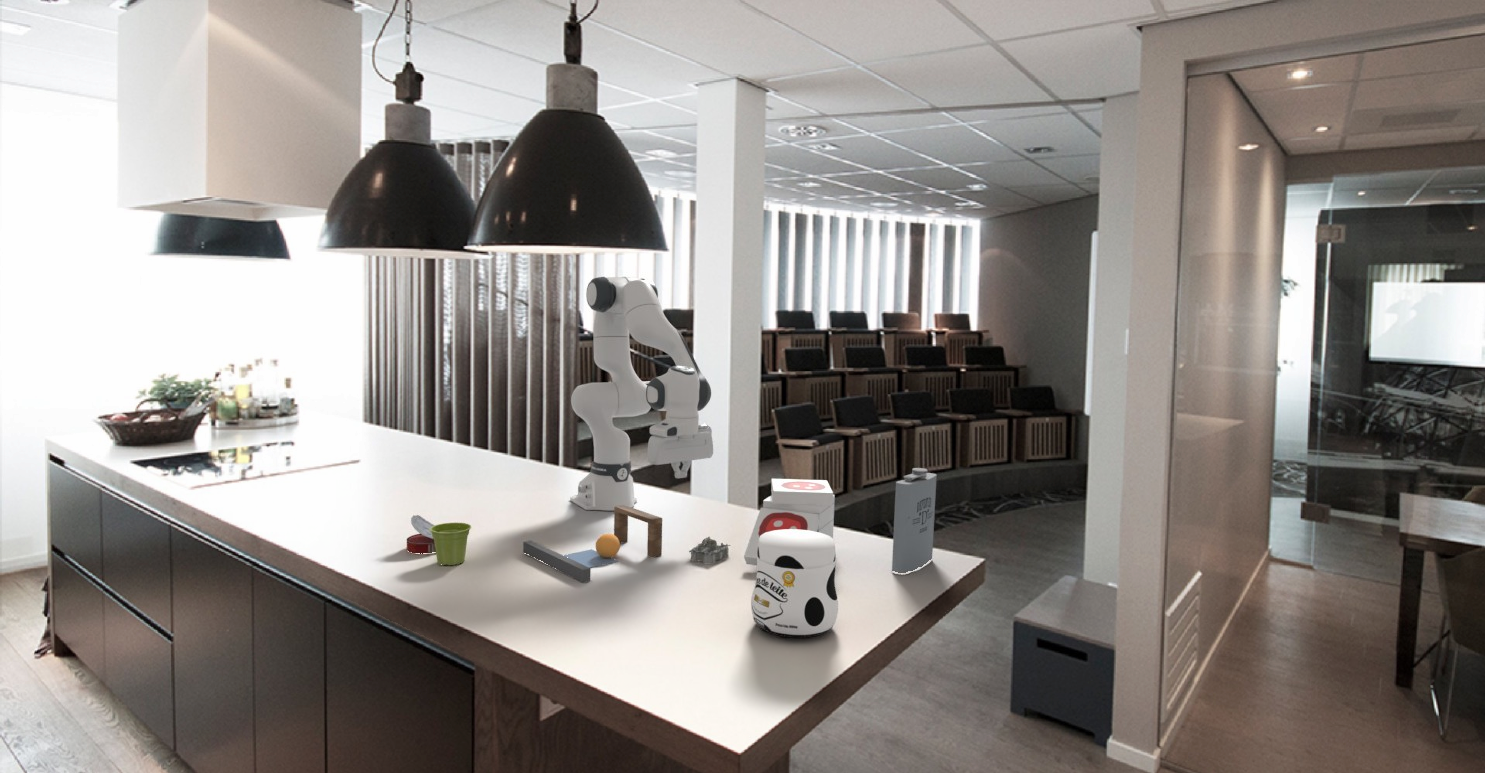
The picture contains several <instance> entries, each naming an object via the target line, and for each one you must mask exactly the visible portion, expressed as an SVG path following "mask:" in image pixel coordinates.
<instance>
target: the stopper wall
mask: <svg viewBox="0 0 1485 773" xmlns="http://www.w3.org/2000/svg"><path fill="white" fill-rule="evenodd" d="M522 546H523V549H522V550H523V552H524V553H526V554H529V555H530V556H532V557H535V558H536V559H538V560H541V561H543V562H544V563H546V564H548V565H550V566H551V567H550V566H549V567H550V568H552V567H554V568H556V569H557V570H556V569H555V570H556V571H558V570H559V571H558V572H560V571H561V572H560V573H562V572H563V574H565V575H566V574H567V575H566V576H569V577H570V578H572V577H573V578H572V579H575V580H576V581H578V582H581V583H582V584H583V583H588V582H591V569H592V568H589V567H587V566H585V565H582V564H580V563H578V562H576V561H574V560H572V559H570V558H567V557H565V556H563V555H564V554H561V553H558V552H557V551H556V550H555V551H554V550H552V549H550V548H547V546H544V545H542V544H539V543H537V542H535V541H533V540H531V539H530V540H525V541H523V545H522ZM523 552H522V553H523ZM524 553H523V554H524ZM526 554H525V555H526ZM530 556H529V557H530ZM532 557H531V558H532ZM536 559H535V560H536ZM538 560H537V561H538ZM544 563H543V564H544ZM546 564H545V565H546ZM548 565H547V566H548ZM554 568H553V569H554Z"/></svg>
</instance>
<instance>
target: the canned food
mask: <svg viewBox="0 0 1485 773" xmlns="http://www.w3.org/2000/svg"><path fill="white" fill-rule="evenodd" d="M410 519H411V520H410V522H411V523H410V524H411V526H412V527H413V528H414V530H415V531H416V532H418V533H416V534H413V535H410V536H408V537H407V538H406V551H407V550H408V551H409V552H412V553H420V554H421V553H422V554H423V553H432V552H436V549H435V543H434V538H433V536H432V532H431V531H430V528H431V527H432V526H435V525H436V524H433V523H431V522H429V521H428V520H426V519H425V518H424V517H422V516H421V515H419V514H416V515H414V514H413V516H412V517H411V518H410ZM409 552H408V553H409Z"/></svg>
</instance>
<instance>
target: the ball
mask: <svg viewBox="0 0 1485 773" xmlns="http://www.w3.org/2000/svg"><path fill="white" fill-rule="evenodd" d="M620 548H621V543H620V542H619V540H618V538H617V537H616V536H615V535H614V533H613V534H612V533H603V534H602V535H600V536H599V537H598V538H597V540H596V542H595V551H597V553H598V554H599V555H600V556H602V557H604V558H613V557H615V556H616V555H617V554H618V553H619V550H620Z"/></svg>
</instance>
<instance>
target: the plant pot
mask: <svg viewBox="0 0 1485 773" xmlns="http://www.w3.org/2000/svg"><path fill="white" fill-rule="evenodd" d="M434 525H435V526H432V527H431V528H430V531H431V532H432V536H433V538H434V543H435V549H436V553H435V555H436V561H437V564H438V565H440V564H442V565H441V566H446V565H447V566H450V565H453V566H456V565H455V564H457V565H460V563H461V564H463V562H465V558H466V551H467V543H468V537H469V534H470V530H471V529H472V525H471V524H469V523H465V522H445V523H438V524H434Z"/></svg>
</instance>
